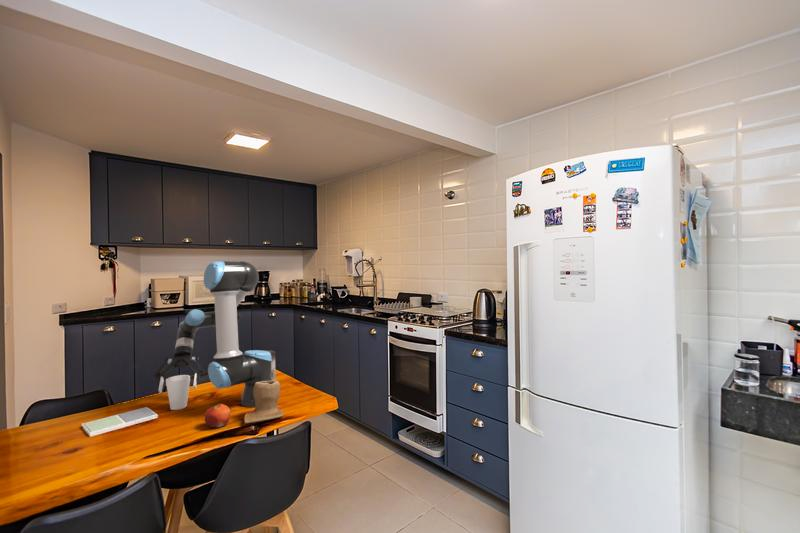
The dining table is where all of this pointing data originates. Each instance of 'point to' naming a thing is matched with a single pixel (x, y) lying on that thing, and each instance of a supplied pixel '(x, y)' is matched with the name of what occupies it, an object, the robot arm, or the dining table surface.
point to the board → (118, 421)
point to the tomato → (217, 415)
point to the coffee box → (272, 364)
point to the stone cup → (265, 402)
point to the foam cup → (178, 391)
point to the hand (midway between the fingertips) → (177, 389)
